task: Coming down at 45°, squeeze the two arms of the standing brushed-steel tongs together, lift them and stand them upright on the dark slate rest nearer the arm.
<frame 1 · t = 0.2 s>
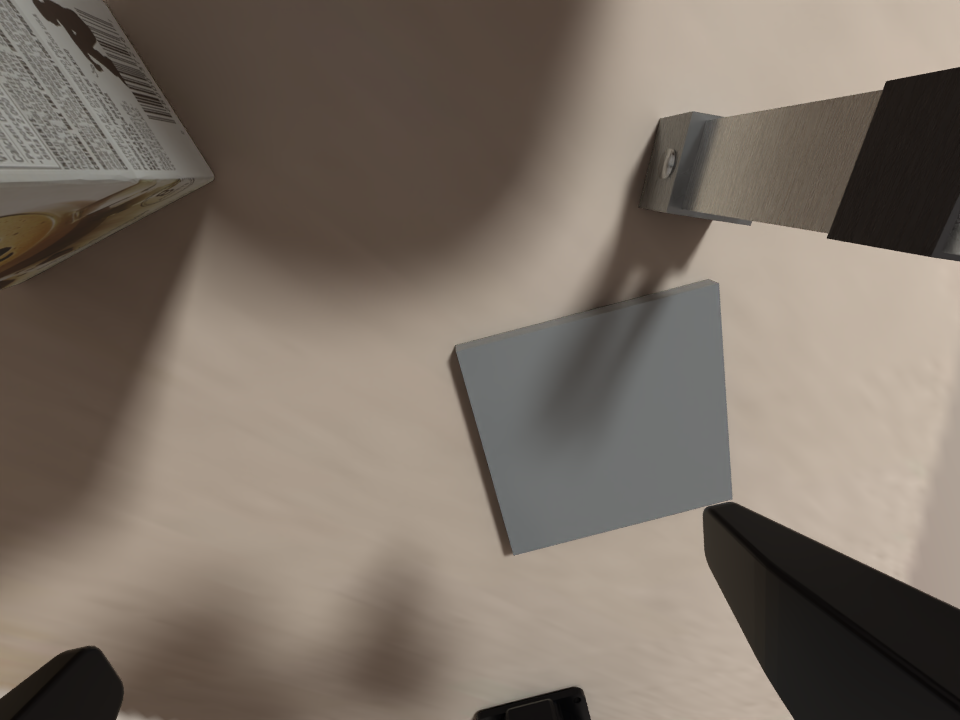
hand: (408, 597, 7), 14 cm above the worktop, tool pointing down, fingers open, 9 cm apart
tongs: (688, 170, 19), on the worktop
slate rest: (601, 423, 23), on the worktop
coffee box: (60, 153, 17), on the worktop
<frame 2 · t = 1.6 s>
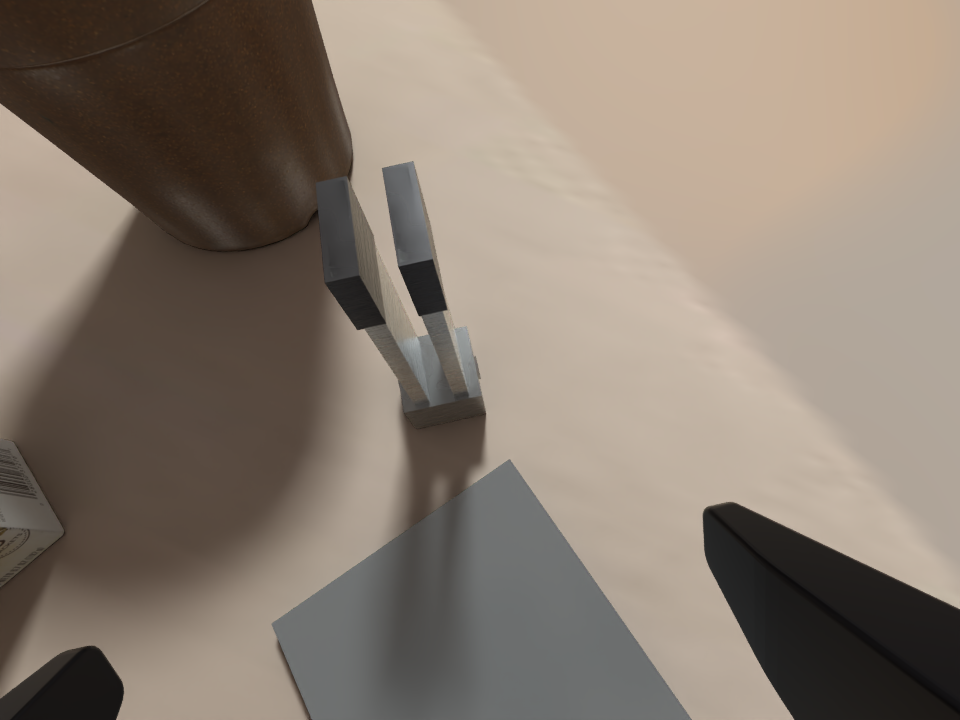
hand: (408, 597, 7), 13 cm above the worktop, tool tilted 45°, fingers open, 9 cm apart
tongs: (445, 388, 23), on the worktop
plant pot: (256, 173, 29), on the worktop
slate rest: (473, 670, 18), on the worktop
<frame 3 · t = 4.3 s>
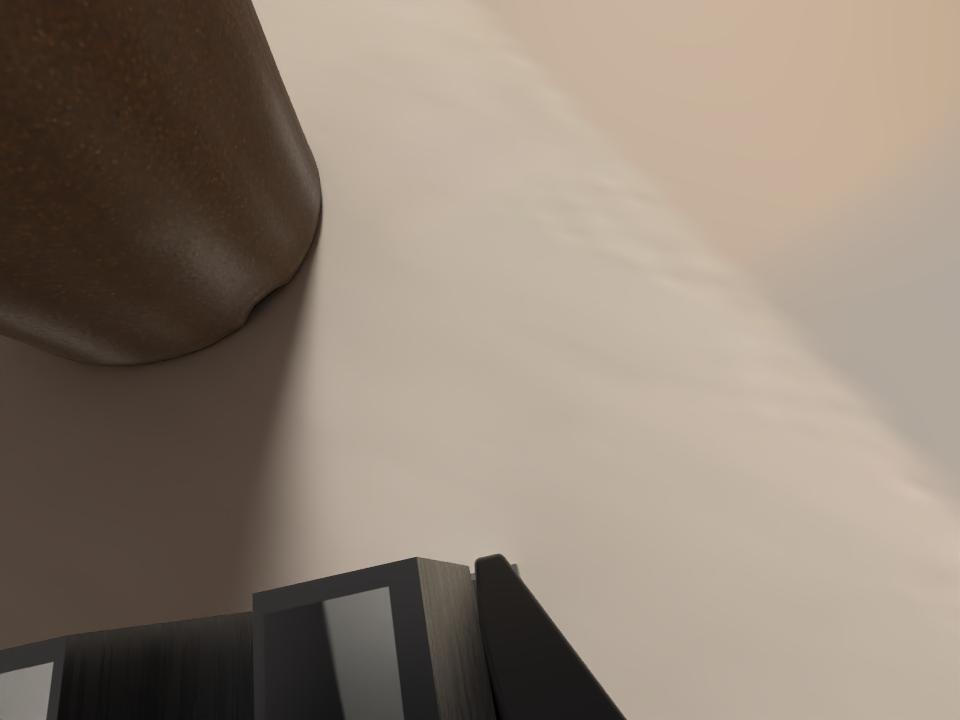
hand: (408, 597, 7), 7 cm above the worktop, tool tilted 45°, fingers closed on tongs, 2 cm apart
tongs: (471, 645, 13), on the worktop, touching gripper
plant pot: (177, 233, 19), on the worktop
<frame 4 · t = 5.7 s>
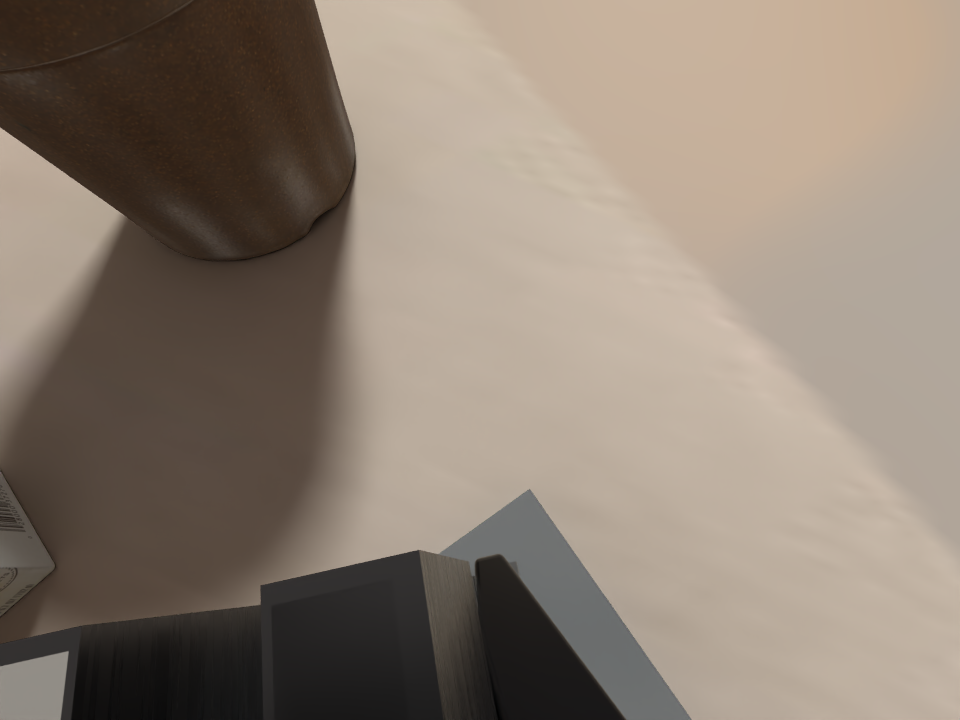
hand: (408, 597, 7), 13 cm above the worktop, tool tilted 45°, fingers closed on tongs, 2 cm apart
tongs: (471, 642, 13), point 6 cm above the worktop, touching gripper
plant pot: (253, 176, 28), on the worktop
slate rest: (494, 716, 17), on the worktop
when the fingers open (8 cm above the worktop, at t = 7.0 s): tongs stays where it is, resting on slate rest.
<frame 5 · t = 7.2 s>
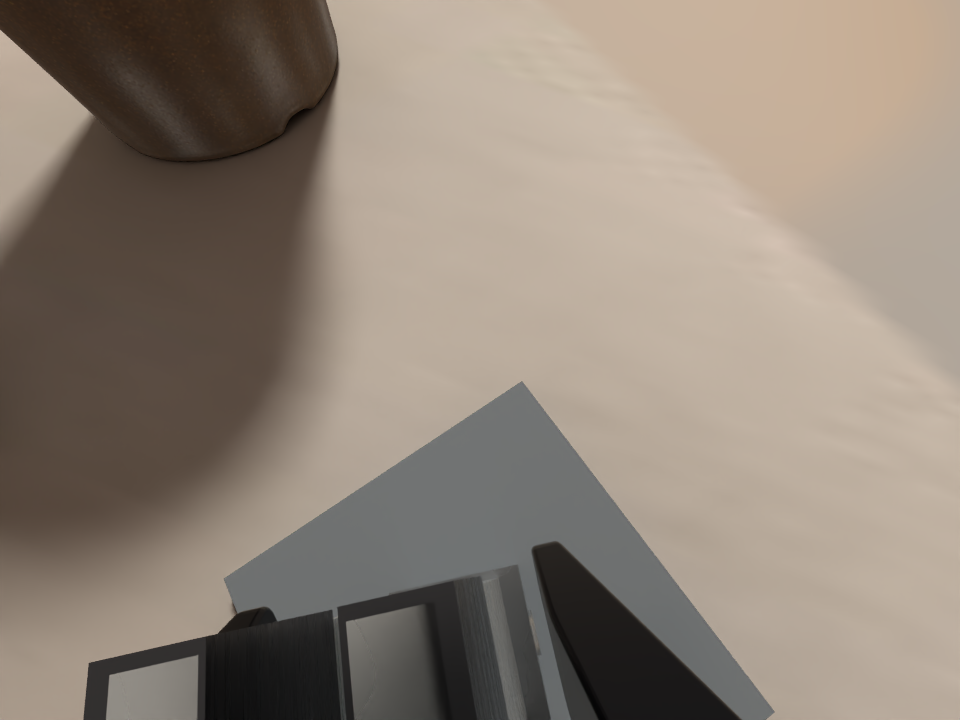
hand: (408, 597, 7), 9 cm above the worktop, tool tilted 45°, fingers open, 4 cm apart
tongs: (475, 638, 14), point 1 cm above the worktop, touching slate rest
plant pot: (228, 82, 26), on the worktop
slate rest: (477, 636, 15), on the worktop
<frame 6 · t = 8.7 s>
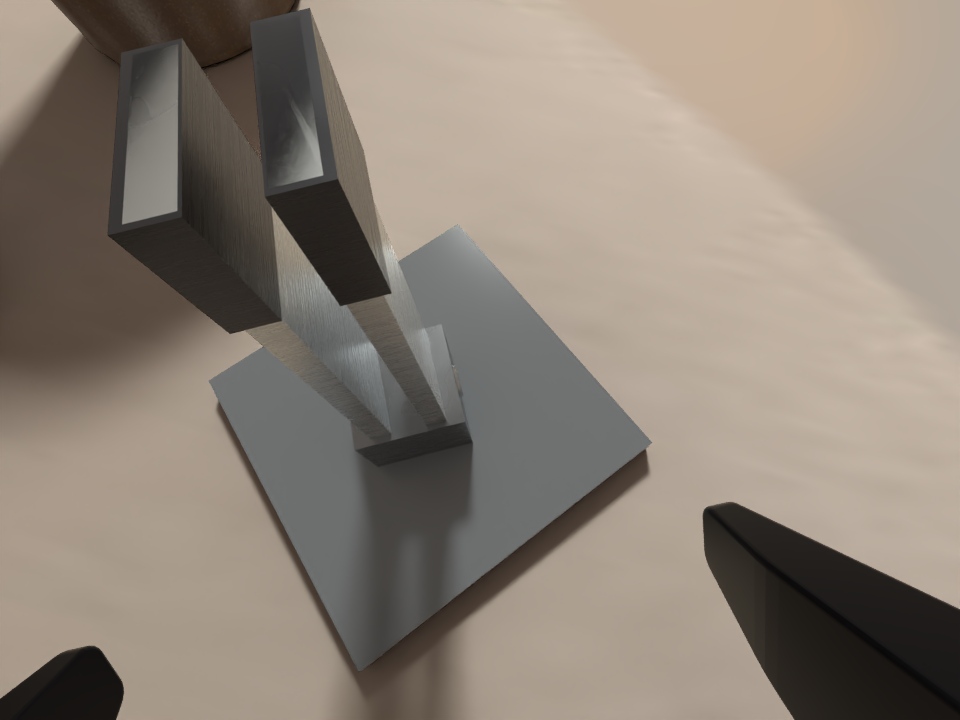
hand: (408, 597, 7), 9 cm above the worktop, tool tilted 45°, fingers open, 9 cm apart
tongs: (416, 409, 17), point 1 cm above the worktop, touching slate rest
plant pot: (201, 8, 28), on the worktop
slate rest: (421, 416, 18), on the worktop
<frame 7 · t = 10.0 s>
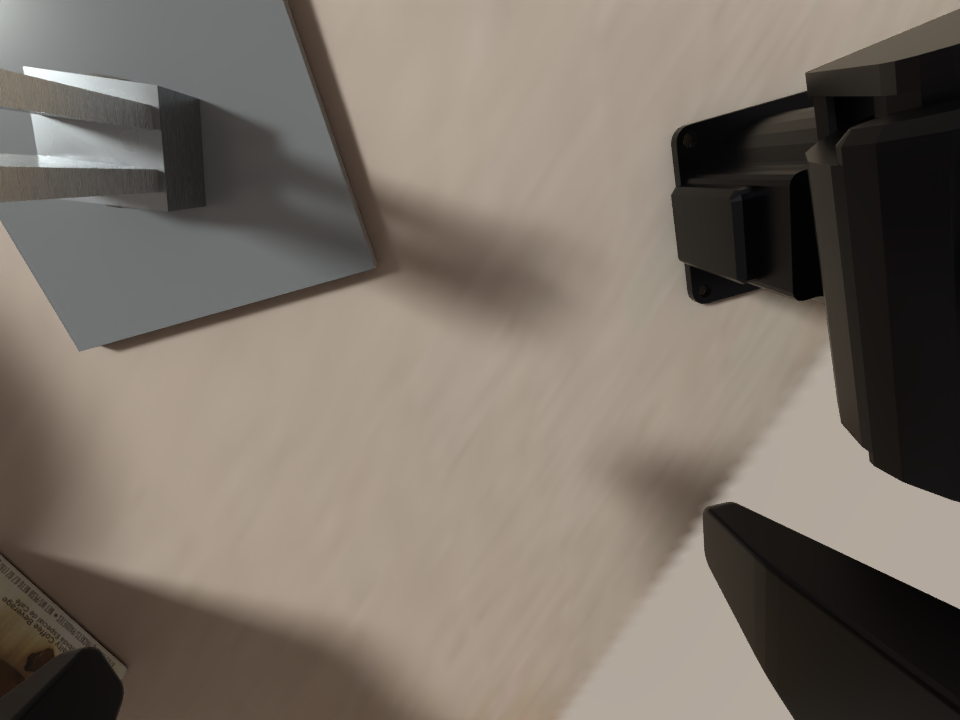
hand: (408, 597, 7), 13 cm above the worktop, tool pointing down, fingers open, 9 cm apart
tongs: (149, 147, 16), point 1 cm above the worktop, touching slate rest
slate rest: (163, 148, 16), on the worktop
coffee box: (13, 629, 23), on the worktop
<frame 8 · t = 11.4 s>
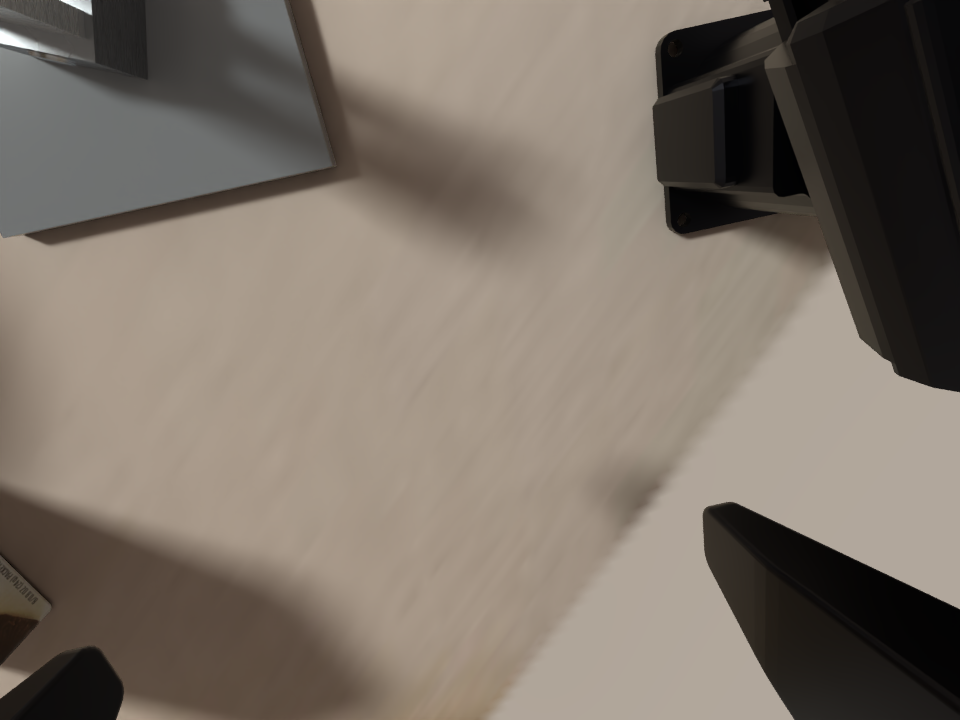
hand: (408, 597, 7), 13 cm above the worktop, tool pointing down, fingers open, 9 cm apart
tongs: (86, 6, 14), point 1 cm above the worktop, touching slate rest
slate rest: (104, 14, 15), on the worktop
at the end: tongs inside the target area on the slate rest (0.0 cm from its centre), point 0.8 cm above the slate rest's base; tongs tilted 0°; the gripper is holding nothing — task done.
